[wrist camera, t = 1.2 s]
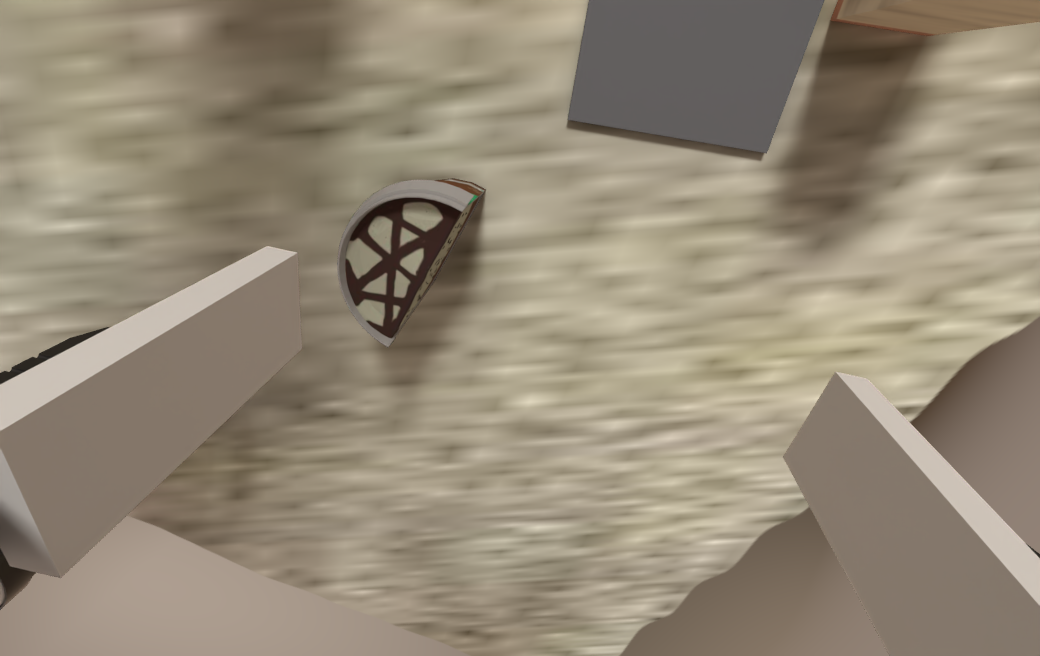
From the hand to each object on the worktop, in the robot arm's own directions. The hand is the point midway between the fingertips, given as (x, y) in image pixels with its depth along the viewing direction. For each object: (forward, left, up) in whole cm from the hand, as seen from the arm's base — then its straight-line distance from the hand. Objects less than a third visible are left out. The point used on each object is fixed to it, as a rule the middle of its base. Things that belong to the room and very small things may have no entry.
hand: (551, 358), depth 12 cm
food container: (+5, -11, -27) cm, 30 cm away
